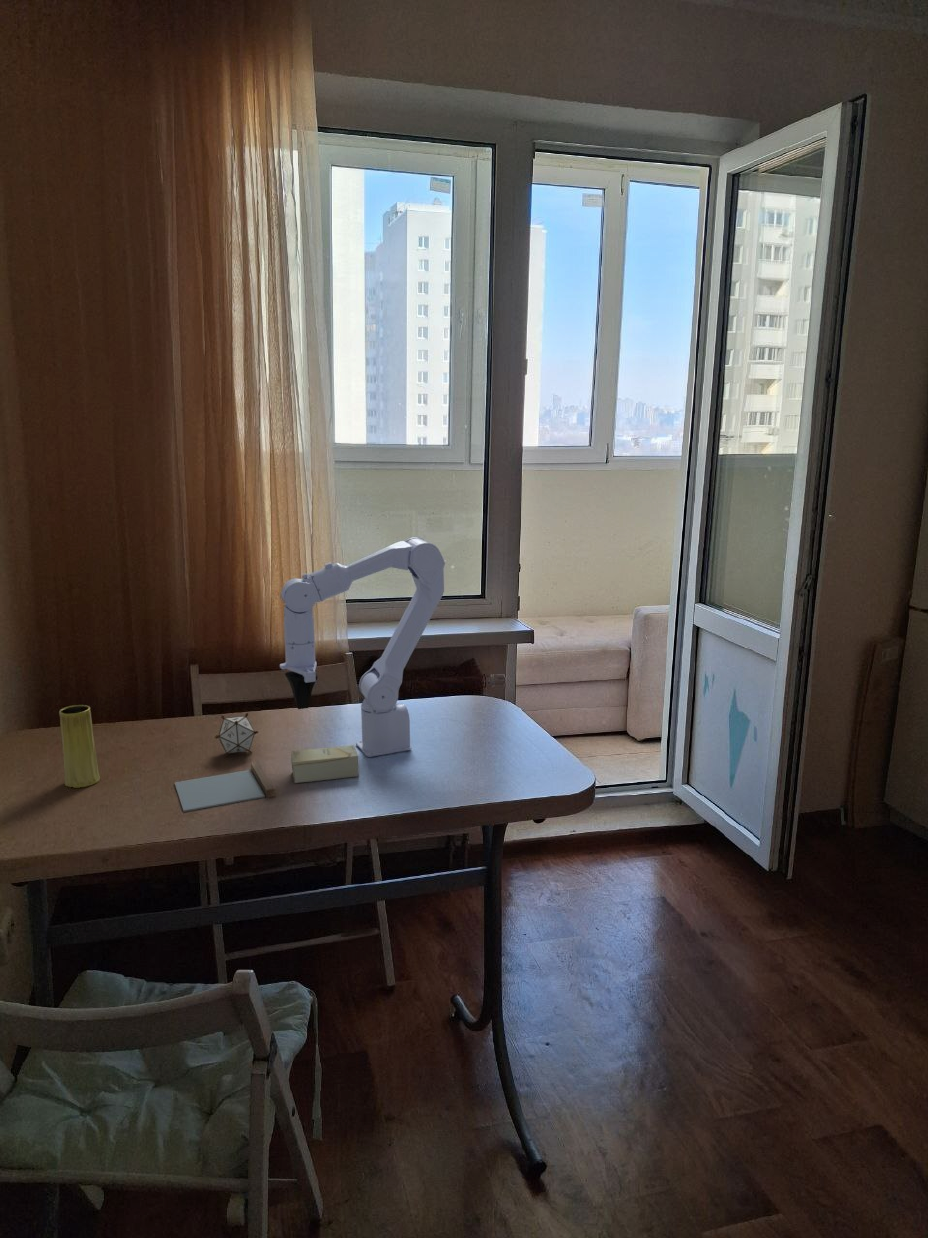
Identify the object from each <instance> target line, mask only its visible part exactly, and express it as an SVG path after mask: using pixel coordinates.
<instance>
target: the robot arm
mask: <svg viewBox="0 0 928 1238" xmlns="http://www.w3.org/2000/svg"><path fill="white" fill-rule="evenodd" d="M445 565H446V562H445V560H444V557H443V555H442V553H441V551H440V549H439V548H438V547H437V546H436V545H435V544H433V543H430V542H427V541H426V540H425V539H424V538H421V537H419V536H416V537H415V536H414V537H410V538H407V539H406V540H401V541H397V542H395V543H393V544H390V545H388V546H386V547H384V548H382V549H379V550H377V551H375V552H373V553H372V554H369V555H367V556H365V557H363V558H360V559H358V560H356V561H354V562H352V563H351V562H350V563H349V564H348V565H344V564H341V563H338V562H335V563H333V564H332V562H330V561H329V562H327V563H325V564H324V567H323V568H321V569H318V570H315V571H314V572H311V573H309V574H307V573H306V572H305V573H302V574H301V578H297V577H296V578H291V579H289V580H288V581H286V582H285V583H284V584H283V586H282V589H281V592H280V598H281V600H282V601H283V603H284V604H285V605H284V609H283V615H284V617H283V631H284V632H283V633H284V649H285V650H284V651H285V652H284V654H285V662H283V663H280V664H279V669H281V670H288V671H287V672H284V675H285V677H286V679H287V681H288V683H289V685H290V688H291V692H292V695H293V699H294V703H295V706H296V708H297V709H298V710H301V709H303V710H304V709H305V710H306V709H309V708H310V707H309V706H310V702H311V697H312V693H313V689H314V686H315V684H316V682H317V680H318V677H319V676H318V674H317V672H316V669H317V661H316V643H315V642H316V641H315V640H316V639H315V617H314V615H313V611H314V610H313V607H314V605H315V604H316V603H321V602H323V601H326V600H328V599H331V598H333V597H335V596H338V595H340V594H342V593H344V592H347V591H349V589H351V585H352V584H353V582H354V581H357V580H361V579H362V578H365V577H367V576H371V575H373V574H376V573H378V572H381V571H385V570H387V569H390V568H392V569H398V570H405V571H409V572H410V573H411V576H412V579H413V582H414V584H415V587H416V590H415V592H414V593H413V595H412V598H411V600H410V602H408V605H407V607H406V608H405V610H404V613H403V614H402V617H401V618H400V619H399V620H400V621H399V622H398V624H397V626H396V628H395V629H394V632H393V633H392V635H391V637H390V639H389V641H388V643H387V645H386V647H385V648H384V651H383V652H382V654H381V656H380V657H379V658H377V660H376V661H374V662H373V664H372V666H371V667H370V669H368V670H367V671H366V672H365V673H364V674H363V675H362V676H361V677H360V680H359V682H358V683H359V685H358V688H359V691H360V693H361V695H362V696H363V697H364V699H363V700H362V703H361V704H360V708H361V711H360V712H361V713H360V714H361V718H360V719H361V741H356V742H355V745H356V746H357V747H358V748H359V750H360V751H362V753H364V755H365V756H366V757H368V758H371V757H377V756H381V755H382V756H383V755H388V754H395V753H402V752H405V751H411V750H412V746H411V729H410V727H411V726H410V725H411V723H410V722H411V721H410V713H409V710H408V708H407V706H406V705H405V704H404V703H398V700H399V690H400V687H401V685H402V683H403V675H404V669H405V667H406V666H407V664H408V661H409V659H410V658H411V656H412V654H413V653H414V650H415V648H416V646H418V642H419V640H420V639H421V637H422V635H423V633H424V631H425V629H426V628H427V625H428V624H429V622H430V620H431V618H432V617H433V614H434V612H435V611H436V609H437V606H438V605H439V603H440V601H441V599H442V597H443V595H444V592H445V576H444V573H445V571H444V569H445Z"/></svg>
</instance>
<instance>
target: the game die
mask: <svg viewBox="0 0 928 1238" xmlns="http://www.w3.org/2000/svg"><path fill="white" fill-rule="evenodd" d="M248 716H249V712H247V713H245V715H241V716H235V717H234V716H233V717H225V716H224V715H221V717H220V718H221V719H222V722H221V725H220V729H219V732H218V735H215V736H214V739H218V741H220V744H221V745H222V748H223V750H224V751H225V753H224V758H226V757H227V756H228V754H235V753H243V752H248V753H249V754H250V755H252V753H253V752H252V751H251V748H252V744H253V740H254V738H255V735H256V734H259V731H258V730H255V729H254V728H253V726H252V723H251V722H250V720H249V718H248Z"/></svg>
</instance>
